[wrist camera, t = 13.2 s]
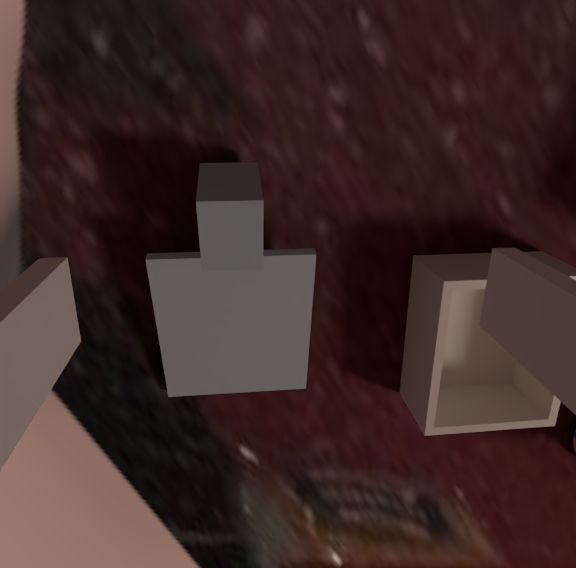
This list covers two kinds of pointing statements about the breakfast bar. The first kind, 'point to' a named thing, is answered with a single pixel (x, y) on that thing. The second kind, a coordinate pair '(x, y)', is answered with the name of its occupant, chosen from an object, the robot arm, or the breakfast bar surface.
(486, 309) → the robot arm
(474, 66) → the breakfast bar surface
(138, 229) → the breakfast bar surface
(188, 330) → the grey tabbed block
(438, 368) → the tub
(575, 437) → the mug
